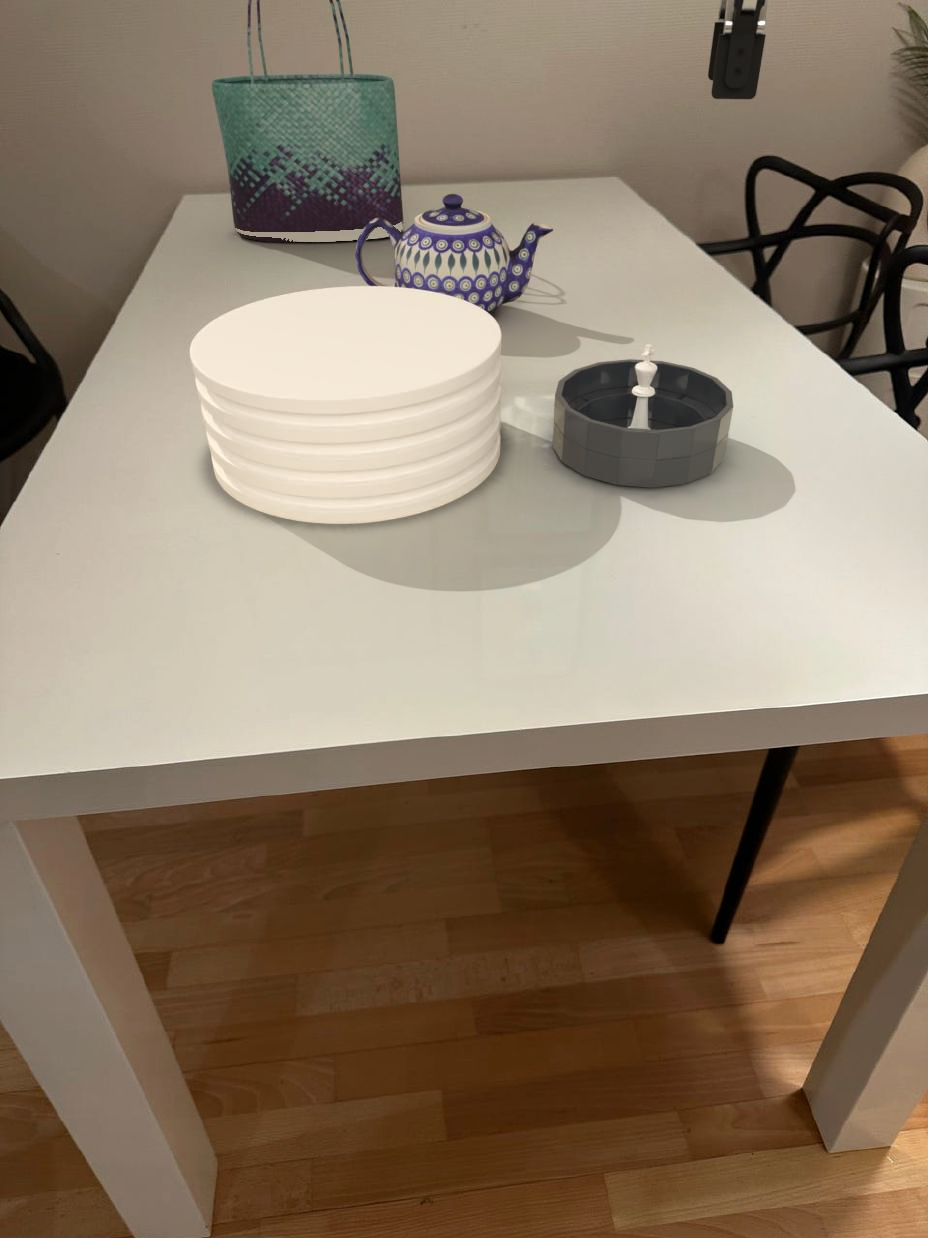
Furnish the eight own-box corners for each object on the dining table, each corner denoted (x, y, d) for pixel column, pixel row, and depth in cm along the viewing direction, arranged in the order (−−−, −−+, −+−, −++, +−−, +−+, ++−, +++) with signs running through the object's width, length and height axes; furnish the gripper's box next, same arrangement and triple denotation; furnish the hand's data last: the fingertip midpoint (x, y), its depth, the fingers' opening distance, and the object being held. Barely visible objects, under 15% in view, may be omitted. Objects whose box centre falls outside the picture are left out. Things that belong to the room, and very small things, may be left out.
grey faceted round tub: (719, 420, 92) (728, 364, 88) (725, 499, 80) (737, 438, 76) (562, 410, 95) (565, 355, 91) (544, 485, 82) (547, 424, 78)
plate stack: (188, 420, 94) (164, 311, 87) (434, 373, 103) (430, 271, 96) (252, 554, 74) (227, 426, 67) (551, 481, 82) (557, 361, 75)
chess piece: (602, 448, 86) (611, 347, 80) (627, 430, 89) (637, 331, 83) (647, 462, 84) (660, 359, 78) (672, 443, 87) (686, 342, 81)
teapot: (350, 333, 113) (338, 208, 104) (371, 294, 125) (362, 179, 116) (548, 337, 111) (554, 210, 102) (550, 297, 123) (555, 180, 114)
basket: (407, 223, 154) (392, -69, 130) (401, 243, 145) (383, -69, 120) (244, 225, 155) (199, -66, 131) (227, 244, 146) (175, -65, 121)
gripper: (851, -226, 52) (790, 107, 63) (816, -197, 66) (770, 74, 76) (720, -221, 54) (681, 105, 64) (711, -193, 67) (680, 73, 77)
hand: (729, 88), depth 70 cm, fingers open, 9 cm apart
